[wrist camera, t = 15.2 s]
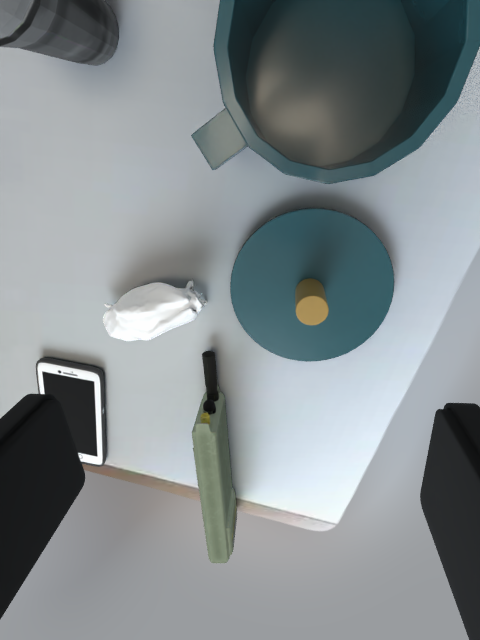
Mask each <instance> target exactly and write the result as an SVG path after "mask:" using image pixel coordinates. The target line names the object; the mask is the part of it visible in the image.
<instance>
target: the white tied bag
mask: <svg viewBox="0 0 480 640" xmlns="http://www.w3.org/2000/svg"><path fill="white" fill-rule="evenodd" d="M193 283H194V281H193V280H192V281H189V282H188V283H187V286H186V288H175V287H173V286H171V285H169V284H165V283H160V282H157V283H150V284H148V285H143V286H140V287H137V288H134V289H132V290H130V291H129V292H127V293H126V294H124V295H123V296H122V297H121V298H120V299H119V300H118V302H117V303H115V304H114V305H111V304H106V303H105V304H104V305H105V306H106V307H108V308H109V310H107V311H106V312H105V314H104V316H103V322H104V325H105V328H106V329H107V331H108V333H109V335H110V336H111V337H115V338H117V339H122V340H125V341H133V340H139V339H141V340H150V339H152V338H154V337H156V336H158V335H160V334H162V333H164V332H167V331H169V330H171V329H173V328H176V327H178V326H181V325H183V324H186V323H188V322H191V321H193V320H195V319H196V317H197V315H198V313H199V312H200V311H201V309H202V307H205V306H204V305H203V304H205V305H206V304H207V301H205V300H202V299H201V298H200V296H201V295H203V294H202V293H201V294H197V291H193V285H194V284H193ZM195 285H196V284H195Z"/></svg>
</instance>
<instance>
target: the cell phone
mask: <svg viewBox="0 0 480 640" xmlns="http://www.w3.org/2000/svg"><path fill="white" fill-rule="evenodd" d="M36 375H37V383H38V391H39V394H51V395H53V396H54V397H55V398H56V400H58V401H59V402H60V403H61V405H62V408H63V411H64V414H65V417H66V420H67V423H68V425H69V428H70V431H71V434H72V437H73V440H74V443H75V446H76V449H77V452H78V455H79V458H80V461H81V463H82V464H86V465H91V466H97V467H100V466H103V464H104V463H105V461H106V436H105V413H104V407H105V398H104V376H103V372H102V370H101V369H99V368H97V367H93V366H88V365H83V364H78V363H72V362H67V361H62V360H57V359H52V358H41V359H40V360H38V361H37V363H36ZM38 379H39V381H38ZM39 388H40V390H39Z"/></svg>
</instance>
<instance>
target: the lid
mask: <svg viewBox="0 0 480 640" xmlns="http://www.w3.org/2000/svg"><path fill="white" fill-rule="evenodd" d="M393 292H394V274H393V268H392V264H391V260H390V258H389V255H388V253H387V250H386V249H385V247H384V245H383V244H382V242H381V241H380V239H379V238H378V237H377V236H376V235H375V234H374V232H373V231H371V230H370V229H369V228H368V227H367V226H366V225H365V224H363V223H362V222H360V221H359V220H357V219H356V218H354V217H351V216H349V215H347V214H345V213H342V212H339V211H335V210H330V209H324V208H306V209H298V210H294V211H290V212H287V213H284V214H282V215H279V216H277V217H275V218H273V219H272V220H270V221H268V222H267V223H265V224H264V225H262V226H261V227H260V228H259V229H258V230H256V231H255V232H254V233H253V234H252V235H251V236H250V238H249V239H248V240H247V241H246V243H245V244H244V246H243V247H242V249H241V251H240V252H239V254H238V257H237V259H236V261H235V264H234V267H233V271H232V276H231V299H232V304H233V308H234V311H235V314H236V316H237V318H238V320H239V322H240V324H241V325H242V327H243V328H244V330H245V331H246V332H247V334H248V335H249V336H250V337H251V338H252V339H253V340H254V341H255V342H256V343H258V344H259V345H260V346H262V347H263V348H265V349H266V350H268V351H270V352H272V353H274V354H276V355H279V356H281V357H284V358H288V359H292V360H298V361H321V360H327V359H331V358H335V357H338V356H341V355H343V354H346V353H348V352H350V351H352V350H353V349H355V348H357V347H358V346H360V345H361V344H363V343H364V342H365V341H366V340H367V339H368V338H370V337H371V336H372V335H373V333H374V332H375V331H376V330H377V329H378V328H379V326H380V325H381V323H382V322H383V320H384V318H385V316H386V314H387V312H388V310H389V307H390V304H391V302H392V297H393Z"/></svg>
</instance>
